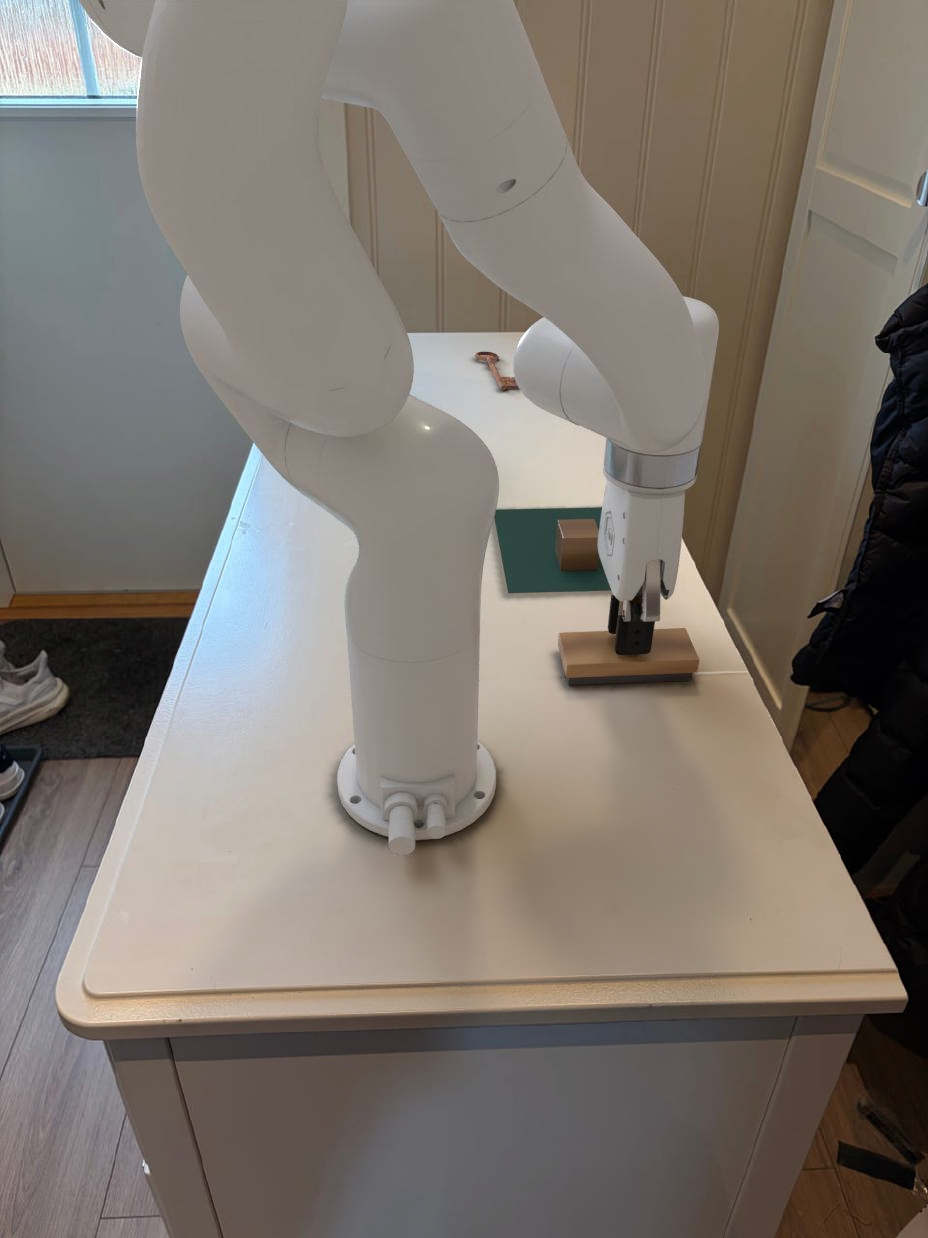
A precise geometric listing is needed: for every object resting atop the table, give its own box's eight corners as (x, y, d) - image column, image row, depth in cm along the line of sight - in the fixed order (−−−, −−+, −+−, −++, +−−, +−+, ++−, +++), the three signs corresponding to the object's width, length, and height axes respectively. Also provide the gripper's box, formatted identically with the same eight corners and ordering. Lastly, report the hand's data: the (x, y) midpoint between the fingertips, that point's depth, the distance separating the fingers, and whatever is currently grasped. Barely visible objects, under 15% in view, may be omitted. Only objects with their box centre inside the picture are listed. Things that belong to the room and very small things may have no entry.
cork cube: (597, 569, 105) (601, 537, 103) (560, 570, 105) (563, 538, 103) (591, 550, 109) (594, 518, 106) (555, 551, 108) (557, 519, 106)
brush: (695, 681, 90) (709, 604, 85) (565, 687, 89) (571, 609, 84) (682, 648, 94) (694, 573, 89) (557, 653, 93) (562, 577, 88)
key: (527, 391, 148) (507, 356, 160) (528, 385, 148) (508, 350, 160) (489, 390, 147) (472, 354, 159) (490, 384, 146) (473, 349, 159)
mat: (661, 591, 102) (661, 588, 102) (508, 595, 102) (508, 592, 101) (626, 508, 117) (627, 506, 117) (492, 511, 116) (492, 509, 116)
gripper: (587, 418, 86) (573, 595, 96) (625, 506, 73) (604, 700, 83) (672, 415, 86) (649, 592, 97) (726, 503, 73) (692, 696, 83)
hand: (628, 640), depth 90 cm, fingers closed on brush, 2 cm apart
